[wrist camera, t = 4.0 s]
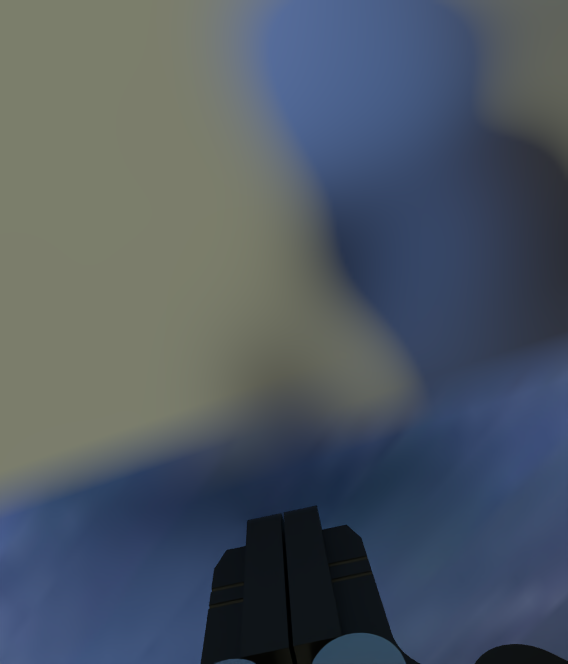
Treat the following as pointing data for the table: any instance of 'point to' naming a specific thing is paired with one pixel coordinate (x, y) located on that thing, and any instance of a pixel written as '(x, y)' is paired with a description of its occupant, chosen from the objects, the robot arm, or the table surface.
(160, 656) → the table surface
